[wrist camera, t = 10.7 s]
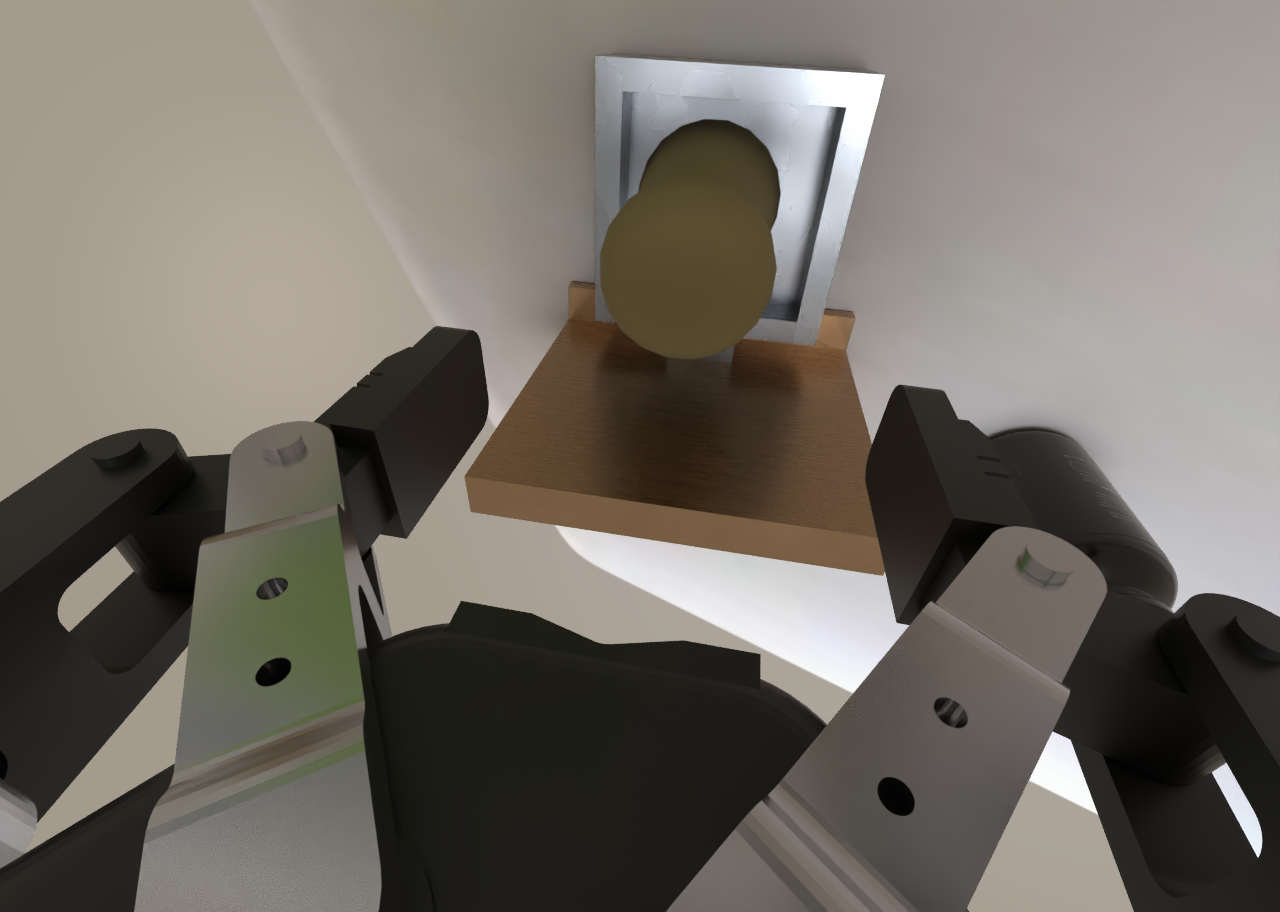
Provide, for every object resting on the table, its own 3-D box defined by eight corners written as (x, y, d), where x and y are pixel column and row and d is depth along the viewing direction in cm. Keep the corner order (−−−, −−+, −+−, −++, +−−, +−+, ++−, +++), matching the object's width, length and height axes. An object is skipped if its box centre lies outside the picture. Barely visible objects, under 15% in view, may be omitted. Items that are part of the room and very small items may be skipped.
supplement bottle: (935, 446, 31) (1013, 628, 21) (1082, 409, 28) (1246, 596, 19) (957, 533, 34) (1033, 724, 25) (1090, 507, 32) (1234, 709, 22)
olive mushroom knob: (627, 253, 26) (561, 362, 17) (654, 101, 22) (587, 143, 14) (754, 285, 26) (753, 411, 17) (802, 138, 22) (831, 204, 13)
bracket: (567, 50, 23) (389, 63, 12) (922, 73, 22) (1097, 111, 10) (574, 368, 32) (477, 545, 21) (827, 400, 30) (867, 608, 19)
